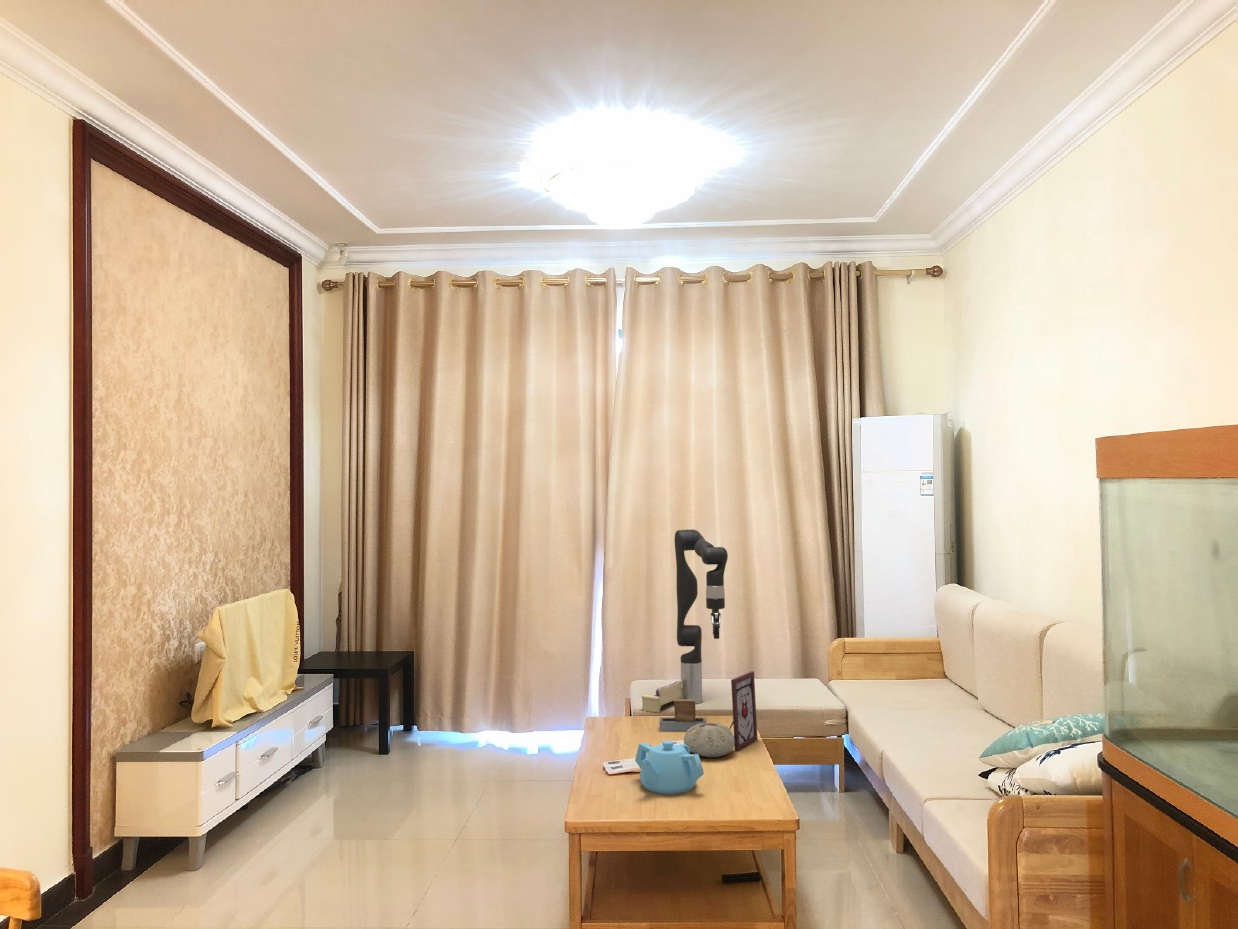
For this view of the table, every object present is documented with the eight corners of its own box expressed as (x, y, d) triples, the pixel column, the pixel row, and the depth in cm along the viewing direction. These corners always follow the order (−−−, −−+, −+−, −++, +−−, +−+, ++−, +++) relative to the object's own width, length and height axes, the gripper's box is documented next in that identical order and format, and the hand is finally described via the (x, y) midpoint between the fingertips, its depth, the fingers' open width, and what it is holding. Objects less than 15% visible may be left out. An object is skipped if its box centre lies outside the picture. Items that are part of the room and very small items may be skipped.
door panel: (674, 725, 328) (674, 699, 329) (695, 725, 328) (695, 699, 328) (674, 727, 325) (674, 701, 326) (695, 727, 325) (695, 701, 325)
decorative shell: (705, 765, 283) (704, 735, 283) (673, 752, 298) (672, 723, 298) (745, 755, 293) (744, 726, 293) (712, 743, 307) (711, 715, 308)
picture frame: (737, 751, 297) (736, 680, 298) (712, 747, 302) (711, 677, 303) (757, 740, 310) (756, 671, 311) (733, 736, 316) (732, 669, 317)
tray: (659, 726, 331) (659, 717, 331) (706, 726, 329) (705, 717, 330) (659, 731, 324) (659, 722, 324) (706, 731, 322) (706, 722, 323)
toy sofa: (666, 700, 373) (665, 677, 373) (683, 703, 368) (682, 679, 369) (641, 711, 356) (640, 686, 356) (658, 714, 351) (658, 689, 351)
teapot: (637, 777, 272) (636, 733, 272) (696, 775, 273) (695, 732, 273) (642, 798, 252) (641, 752, 253) (705, 796, 253) (705, 750, 254)
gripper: (705, 594, 349) (706, 634, 348) (706, 598, 335) (707, 640, 334) (723, 594, 348) (724, 634, 348) (725, 598, 334) (726, 639, 333)
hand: (716, 636), depth 341 cm, fingers open, 8 cm apart
